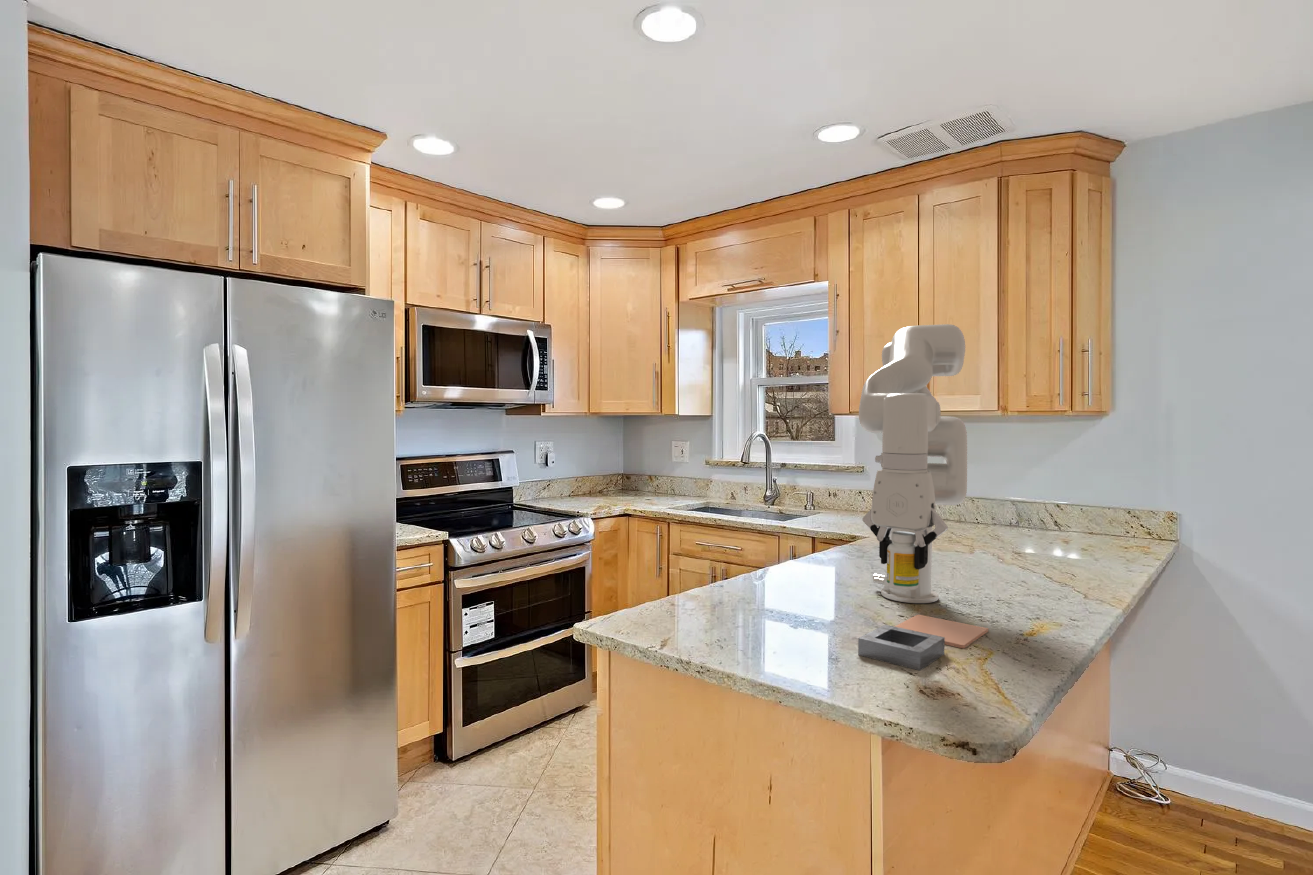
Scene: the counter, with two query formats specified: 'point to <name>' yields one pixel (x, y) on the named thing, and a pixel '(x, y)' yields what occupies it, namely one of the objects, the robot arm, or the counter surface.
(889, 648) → the collar
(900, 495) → the robot arm
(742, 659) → the counter surface
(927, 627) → the tile
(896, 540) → the supplement bottle
